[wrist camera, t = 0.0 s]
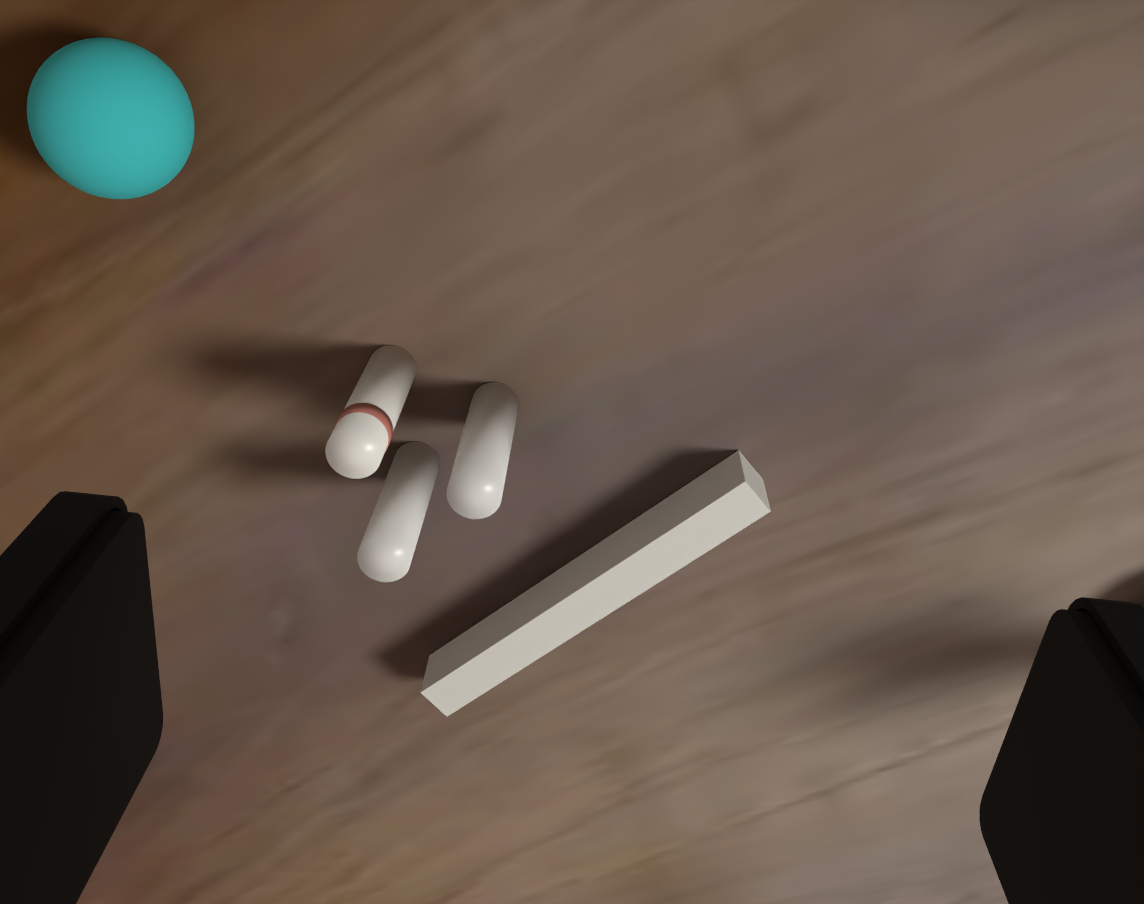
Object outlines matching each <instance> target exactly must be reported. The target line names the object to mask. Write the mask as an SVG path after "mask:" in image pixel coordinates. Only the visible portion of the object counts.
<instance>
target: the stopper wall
mask: <svg viewBox="0 0 1144 904" xmlns="http://www.w3.org/2000/svg"><path fill="white" fill-rule="evenodd" d="M769 512H771V511H770V506H769V502H768V498H767V494H766V490H765V486H764V482H763V479H762V478H761V476H760V475H759V474H758V473H757V472H756V470H755V469H754V468H753V467H752V466H751V464H750V463H749V462H748V461H747V460H746V458H745V457H744V456H743V455H742V454H741V452H740V451H739V450H738V451H737V452H735V453H734V454H732V455H731V456H729V457H728V458H726V459H725V460H723V461H722V462H720V463H719V464H717V465H716V466H714V467H712V468H711V469H709V470H708V471H706V472H705V473H703V474H702V475H700V476H699V477H697V478H696V479H694V480H693V481H691V482H690V483H688V484H687V485H685V486H684V487H682V488H681V489H679V490H678V491H676V492H675V493H673V494H672V495H670V496H669V497H667V498H666V499H664V500H663V501H661V502H660V503H658V504H657V505H655V506H654V507H652V508H651V509H649V510H648V511H646V512H645V513H643V514H642V515H640V516H639V517H637V518H636V519H634V520H633V521H631V522H630V523H628V524H627V525H625V526H623V527H622V528H620V529H619V530H617V531H616V532H614V533H613V534H611V535H610V536H608V537H607V538H605V539H604V540H602V541H601V542H599V543H598V544H596V545H595V546H593V547H592V548H590V549H589V550H587V551H586V552H584V553H583V554H581V555H580V556H578V557H577V558H575V559H574V560H572V561H571V562H569V563H568V564H566V565H565V566H563V567H562V568H560V569H559V570H557V571H556V572H554V573H553V574H551V575H550V576H548V577H547V578H545V579H544V580H542V581H541V582H539V583H538V584H536V585H535V586H533V587H531V588H530V589H528V590H527V591H525V592H524V593H522V594H521V595H519V596H518V597H516V598H515V599H513V600H512V601H510V602H509V603H507V604H506V605H504V606H503V607H501V608H500V609H498V610H497V611H495V612H494V613H492V614H491V615H489V616H488V617H486V618H485V619H483V620H482V621H480V622H479V623H477V624H476V625H474V626H473V627H471V628H470V629H468V630H467V631H465V632H464V633H462V634H461V635H459V636H458V637H456V638H455V639H453V640H452V641H450V642H449V643H447V644H446V645H444V646H443V647H441V648H439V649H438V650H436V651H435V652H433V653H432V654H430V655H429V659H428V663H427V668H426V672H425V676H424V680H423V684H422V688H421V693H422V694H423V695H424V696H425V697H426V698H427V699H428V700H429V701H430V702H431V703H433V704H434V705H435V706H436V707H437V708H438V709H439V710H440V711H441V712H442V713H444V714H445V715H446V716H449V715H450V714H452V713H453V712H455V711H457V710H458V709H460V708H461V707H463V706H464V705H466V704H468V703H469V702H471V701H472V700H474V699H476V698H477V697H479V696H480V695H482V694H483V693H485V692H487V691H488V690H490V689H491V688H493V687H494V686H496V685H498V684H499V683H501V682H502V681H504V680H506V679H507V678H509V677H510V676H512V675H513V674H515V673H517V672H518V671H520V670H521V669H523V668H524V667H526V666H528V665H529V664H531V663H532V662H534V661H535V660H537V659H539V658H540V657H542V656H543V655H545V654H547V653H548V652H550V651H551V650H553V649H554V648H556V647H558V646H559V645H561V644H562V643H564V642H565V641H567V640H569V639H570V638H572V637H573V636H575V635H577V634H578V633H580V632H581V631H583V630H584V629H586V628H588V627H589V626H591V625H592V624H594V623H595V622H597V621H599V620H600V619H602V618H603V617H605V616H607V615H608V614H610V613H611V612H613V611H614V610H616V609H618V608H619V607H621V606H622V605H624V604H625V603H627V602H629V601H630V600H632V599H633V598H635V597H636V596H638V595H640V594H641V593H643V592H644V591H646V590H648V589H649V588H651V587H652V586H654V585H655V584H657V583H659V582H660V581H662V580H663V579H665V578H666V577H668V576H670V575H671V574H673V573H674V572H676V571H678V570H679V569H681V568H682V567H684V566H685V565H687V564H689V563H690V562H692V561H693V560H695V559H696V558H698V557H700V556H701V555H703V554H704V553H706V552H707V551H709V550H711V549H712V548H714V547H715V546H717V545H719V544H720V543H722V542H723V541H725V540H726V539H728V538H730V537H731V536H733V535H734V534H736V533H737V532H739V531H741V530H742V529H744V528H745V527H747V526H749V525H750V524H752V523H753V522H755V521H756V520H758V519H760V518H761V517H763V516H764V515H766V514H767V513H769Z"/></svg>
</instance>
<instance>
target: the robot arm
mask: <svg viewBox="0 0 1144 904" xmlns="http://www.w3.org/2000/svg"><path fill="white" fill-rule="evenodd" d="M162 726H163V709H162V699H161V689H160V679H159V669H158V659H157V649H156V639H155V629H154V619H153V609H152V599H151V589H150V579H149V569H148V559H147V549H146V539H145V529H144V523H143V519H142V517H141V515H139V514H138V513H132V512H128V511H127V507H126V505H125V503H124V501H123V500H122V499H121V498H120V497H116V496H106V495H97V494H87V493H78V492H68V491H64V492H59V493H58V494H57V495H55V496H54V497H53V498H52V499H51V500H50V502H49V503H48V504H47V505H46V506H45V507H44V508H43V509H42V510H41V511H40V513H39V514H38V515H37V516H36V517H35V518H34V519H33V520H32V521H31V523H30V524H29V525H28V526H27V527H26V528H25V529H24V530H23V531H22V532H21V534H20V535H19V536H18V537H17V538H16V539H15V540H14V541H13V542H12V544H11V545H10V546H9V547H8V548H7V549H6V550H5V551H4V552H3V553H2V555H1V556H0V904H76V903H77V901H78V899H79V897H80V895H81V893H82V891H83V889H84V887H85V885H86V884H87V882H88V880H89V878H90V876H91V874H92V872H93V870H94V868H95V866H96V865H97V863H98V861H99V859H100V857H101V855H102V853H103V851H104V849H105V847H106V845H107V844H108V842H109V840H110V838H111V836H112V834H113V832H114V830H115V828H116V826H117V824H118V823H119V821H120V819H121V817H122V815H123V813H124V811H125V809H126V807H127V805H128V804H129V802H130V800H131V798H132V796H133V794H134V792H135V790H136V788H137V786H138V784H139V783H140V781H141V779H142V777H143V775H144V773H145V771H146V769H147V767H148V765H149V763H150V762H151V760H152V758H153V756H154V754H155V752H156V749H157V747H158V744H159V741H160V737H161V732H162ZM980 826H981V831H982V835H983V838H984V841H985V843H986V846H987V848H988V851H989V854H990V856H991V859H992V861H993V864H994V867H995V869H996V872H997V874H998V877H999V880H1000V882H1001V885H1002V888H1003V890H1004V893H1005V895H1006V898H1007V901H1008V903H1009V904H1144V608H1143V607H1142V606H1141V605H1139V604H1136V603H1131V602H1121V601H1112V600H1102V599H1093V598H1083V597H1082V598H1079V599H1076V600H1075V601H1074V602H1073V603H1072V604H1071V605H1070V606H1069V608H1068V610H1063V609H1061V610H1058V611H1056V612H1055V613H1054V614H1053V615H1052V617H1051V619H1050V621H1049V623H1048V626H1047V628H1046V631H1045V634H1044V636H1043V639H1042V642H1041V644H1040V647H1039V649H1038V652H1037V655H1036V657H1035V660H1034V662H1033V665H1032V668H1031V670H1030V673H1029V676H1028V678H1027V681H1026V683H1025V686H1024V689H1023V691H1022V694H1021V696H1020V699H1019V702H1018V704H1017V707H1016V710H1015V712H1014V715H1013V717H1012V720H1011V723H1010V725H1009V728H1008V730H1007V733H1006V736H1005V738H1004V741H1003V744H1002V746H1001V749H1000V751H999V754H998V757H997V759H996V762H995V764H994V767H993V770H992V772H991V775H990V778H989V780H988V783H987V785H986V788H985V791H984V793H983V796H982V800H981V804H980Z"/></svg>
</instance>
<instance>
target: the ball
mask: <svg viewBox="0 0 1144 904" xmlns="http://www.w3.org/2000/svg"><path fill="white" fill-rule="evenodd" d="M27 119H28V125H29V130H30V133H31V136H32V139H33V141H34V143H35V146H36V148H37V150H38V151H39V153H40V155H41V156H42V158H43V159H44V160H45V162H46V163H47V164H48V165H49V166H50V168H51V169H52V170H53V171H54V172H55V173H56V174H58V175H59V176H60V177H61V178H62V179H64V180H65V181H66V182H68V183H69V184H71V185H73V186H74V187H76V188H78V189H80V190H82V191H84V192H86V193H89V194H92V195H95V196H99V197H104V198H110V199H130V198H137V197H141V196H145V195H147V194H150V193H152V192H155V191H157V190H158V189H160V188H162V187H164V186H165V185H166V184H168V183H169V182H170V181H171V180H172V179H173V178H174V177H175V176H176V175H177V174H178V173H179V172H180V171H181V169H182V168H183V166H184V165H185V163H186V161H187V159H188V156H189V154H190V152H191V149H192V145H193V140H194V115H193V110H192V106H191V102H190V100H189V97H188V94H187V92H186V90H185V88H184V87H183V85H182V83H181V82H180V80H179V79H178V77H177V76H176V75H175V73H174V72H173V71H172V70H171V69H170V68H169V67H168V66H167V65H166V64H165V63H164V62H163V61H162V60H161V59H159V58H158V57H157V56H155V55H154V54H152V53H151V52H149V51H147V50H146V49H144V48H142V47H140V46H138V45H136V44H133V43H130V42H127V41H124V40H118V39H113V38H90V39H84V40H80V41H76V42H73V43H71V44H69V45H66V46H64V47H62V48H61V49H59V50H58V51H56V52H54V53H53V54H52V55H51V56H50V57H49V58H48V59H47V60H46V61H45V62H44V63H43V64H42V66H41V67H40V68H39V69H38V71H37V73H36V75H35V76H34V79H33V81H32V84H31V86H30V89H29V93H28V98H27Z"/></svg>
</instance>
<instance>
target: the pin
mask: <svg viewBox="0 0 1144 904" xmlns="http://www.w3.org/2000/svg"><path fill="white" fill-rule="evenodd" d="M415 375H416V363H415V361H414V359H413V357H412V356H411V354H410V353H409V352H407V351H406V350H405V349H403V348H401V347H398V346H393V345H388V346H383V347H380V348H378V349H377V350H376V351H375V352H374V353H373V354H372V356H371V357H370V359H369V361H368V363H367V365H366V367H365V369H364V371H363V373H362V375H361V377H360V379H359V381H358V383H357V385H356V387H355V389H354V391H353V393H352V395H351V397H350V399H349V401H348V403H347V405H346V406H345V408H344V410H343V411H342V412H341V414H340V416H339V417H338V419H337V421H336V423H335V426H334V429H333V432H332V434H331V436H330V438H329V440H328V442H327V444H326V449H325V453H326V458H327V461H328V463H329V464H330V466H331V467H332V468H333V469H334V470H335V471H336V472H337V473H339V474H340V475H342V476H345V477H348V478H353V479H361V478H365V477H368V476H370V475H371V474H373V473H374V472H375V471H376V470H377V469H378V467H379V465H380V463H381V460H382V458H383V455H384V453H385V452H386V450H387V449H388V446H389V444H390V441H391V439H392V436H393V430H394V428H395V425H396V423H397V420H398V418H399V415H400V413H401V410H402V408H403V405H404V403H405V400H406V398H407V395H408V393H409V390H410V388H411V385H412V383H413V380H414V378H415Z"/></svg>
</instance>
